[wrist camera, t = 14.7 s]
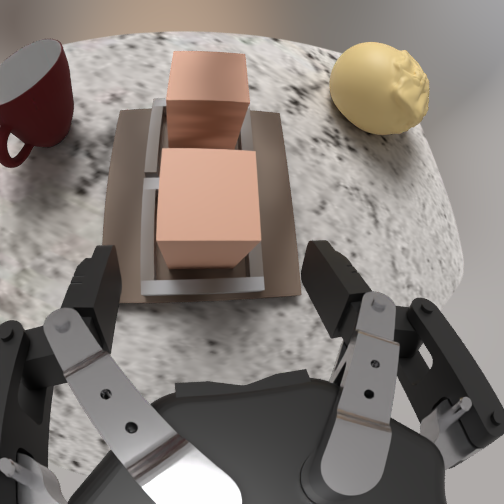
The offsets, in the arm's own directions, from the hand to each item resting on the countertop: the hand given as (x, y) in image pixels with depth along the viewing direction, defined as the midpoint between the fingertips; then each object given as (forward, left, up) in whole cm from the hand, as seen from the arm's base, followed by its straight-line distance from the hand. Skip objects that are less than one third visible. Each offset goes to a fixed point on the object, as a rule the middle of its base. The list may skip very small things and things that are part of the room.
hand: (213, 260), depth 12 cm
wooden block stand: (0, +8, -12) cm, 14 cm away
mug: (-16, +15, -12) cm, 25 cm away
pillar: (0, +4, -11) cm, 11 cm away
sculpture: (+20, +21, -12) cm, 31 cm away
